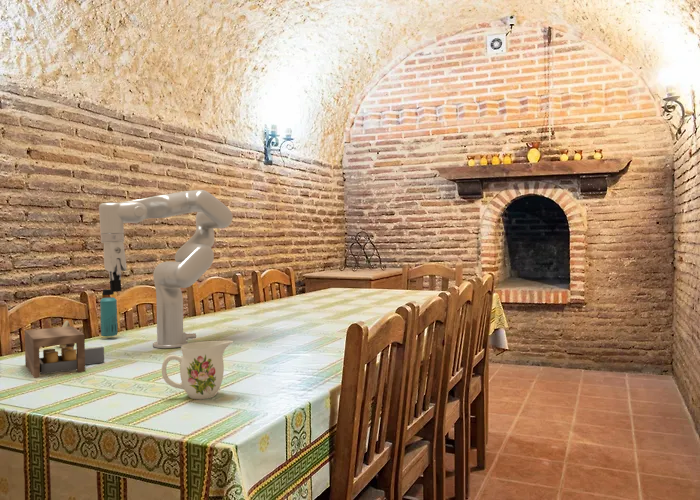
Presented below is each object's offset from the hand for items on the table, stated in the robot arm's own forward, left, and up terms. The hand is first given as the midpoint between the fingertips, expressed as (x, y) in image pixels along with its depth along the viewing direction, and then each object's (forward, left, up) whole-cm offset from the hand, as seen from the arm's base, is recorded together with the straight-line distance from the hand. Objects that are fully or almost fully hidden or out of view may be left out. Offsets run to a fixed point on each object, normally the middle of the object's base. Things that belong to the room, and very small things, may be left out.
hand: (115, 291), depth 208 cm
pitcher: (-4, +67, -23) cm, 71 cm away
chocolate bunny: (+11, -30, -23) cm, 39 cm away
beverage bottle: (-6, -37, -23) cm, 44 cm away
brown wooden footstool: (+21, +9, -22) cm, 32 cm away
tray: (+16, +9, -23) cm, 29 cm away
